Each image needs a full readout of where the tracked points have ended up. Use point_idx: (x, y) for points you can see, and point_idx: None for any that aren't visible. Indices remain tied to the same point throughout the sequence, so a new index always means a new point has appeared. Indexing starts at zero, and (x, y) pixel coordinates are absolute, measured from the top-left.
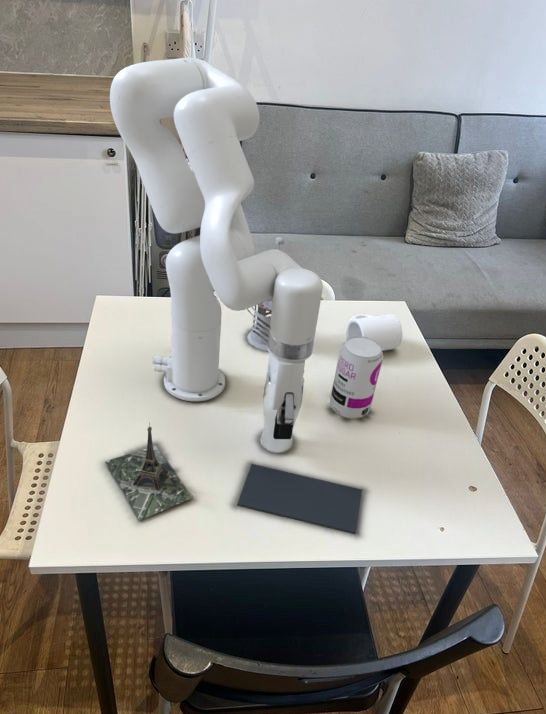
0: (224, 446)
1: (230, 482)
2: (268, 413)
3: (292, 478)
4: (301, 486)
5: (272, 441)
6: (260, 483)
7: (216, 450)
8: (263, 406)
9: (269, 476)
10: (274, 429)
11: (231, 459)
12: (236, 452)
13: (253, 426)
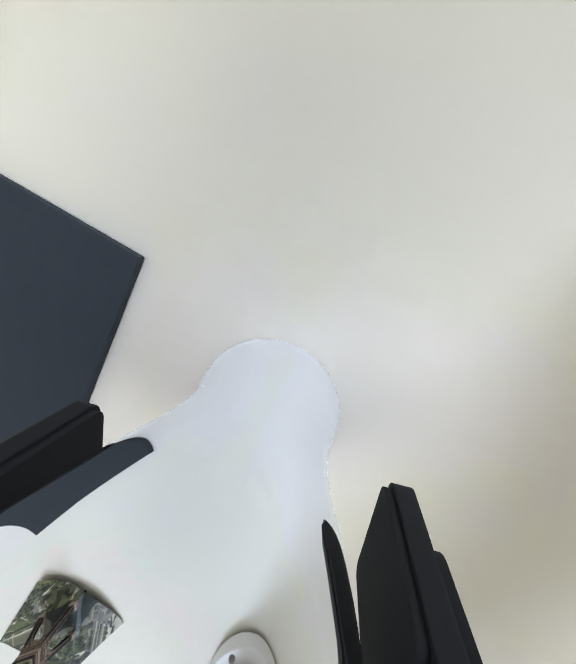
0: (280, 153)
1: (53, 135)
2: (46, 481)
3: (58, 392)
4: (21, 407)
5: (197, 388)
6: (31, 263)
7: (257, 101)
8: (134, 478)
9: (67, 311)
10: (16, 439)
11: (188, 171)
12: (230, 208)
13: (394, 340)
